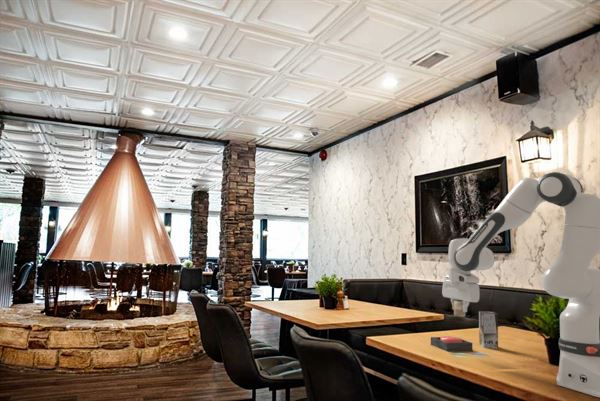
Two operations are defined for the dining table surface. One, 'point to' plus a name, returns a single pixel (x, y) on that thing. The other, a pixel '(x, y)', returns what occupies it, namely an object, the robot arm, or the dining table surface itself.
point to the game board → (455, 347)
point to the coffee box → (488, 329)
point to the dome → (451, 339)
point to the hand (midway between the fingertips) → (459, 310)
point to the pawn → (458, 309)
